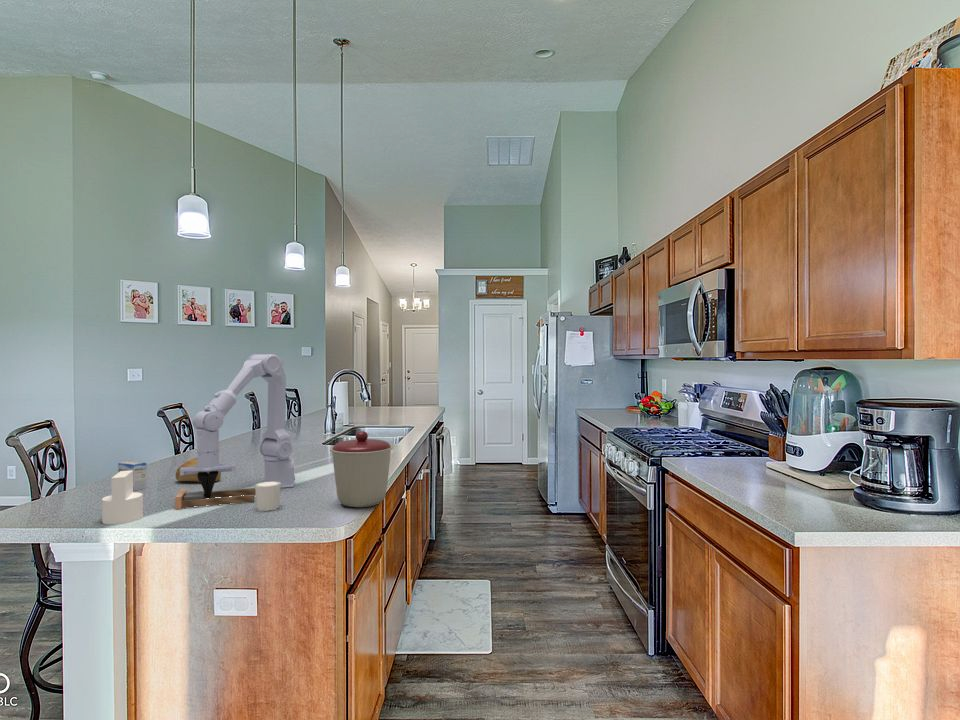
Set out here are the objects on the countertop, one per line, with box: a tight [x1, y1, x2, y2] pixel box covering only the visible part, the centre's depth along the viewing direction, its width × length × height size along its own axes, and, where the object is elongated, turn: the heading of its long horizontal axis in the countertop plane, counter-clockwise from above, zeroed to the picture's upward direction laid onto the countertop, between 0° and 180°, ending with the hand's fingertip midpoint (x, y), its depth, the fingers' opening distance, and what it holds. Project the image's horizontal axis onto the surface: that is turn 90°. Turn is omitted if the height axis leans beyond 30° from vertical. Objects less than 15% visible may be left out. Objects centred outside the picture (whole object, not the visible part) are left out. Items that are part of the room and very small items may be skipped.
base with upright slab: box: [101, 470, 144, 525], centre depth 143 cm, size 9×9×12 cm
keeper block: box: [184, 490, 206, 501], centre depth 158 cm, size 5×6×3 cm
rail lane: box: [174, 487, 256, 510], centre depth 160 cm, size 20×11×4 cm, turn 110°
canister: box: [329, 430, 394, 508], centre depth 158 cm, size 18×18×21 cm
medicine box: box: [117, 460, 148, 492], centre depth 176 cm, size 8×4×9 cm, turn 68°
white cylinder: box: [254, 481, 281, 512], centre depth 153 cm, size 7×7×7 cm
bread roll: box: [175, 457, 222, 483], centre depth 186 cm, size 10×15×8 cm, turn 91°
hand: (208, 497), depth 159 cm, fingers closed
